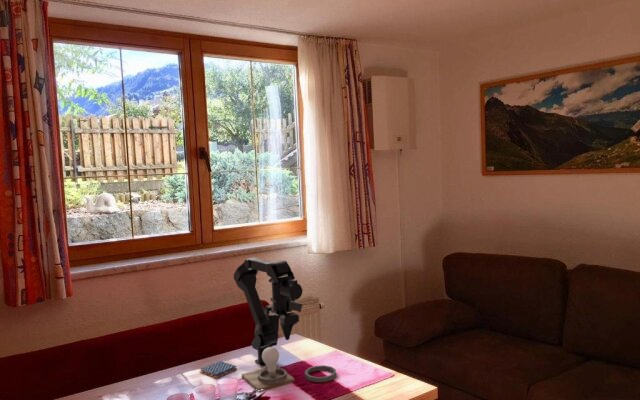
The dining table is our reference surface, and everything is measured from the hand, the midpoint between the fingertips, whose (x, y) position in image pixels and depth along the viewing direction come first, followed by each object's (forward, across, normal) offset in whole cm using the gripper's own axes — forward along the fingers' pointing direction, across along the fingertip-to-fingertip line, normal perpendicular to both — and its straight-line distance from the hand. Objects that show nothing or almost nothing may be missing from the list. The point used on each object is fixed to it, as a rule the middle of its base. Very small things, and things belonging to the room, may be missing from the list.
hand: (281, 336), depth 185 cm
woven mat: (+14, +15, +20) cm, 29 cm away
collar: (+13, -12, -9) cm, 20 cm away
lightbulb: (+12, -5, +7) cm, 15 cm away
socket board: (+13, -4, +8) cm, 16 cm away
